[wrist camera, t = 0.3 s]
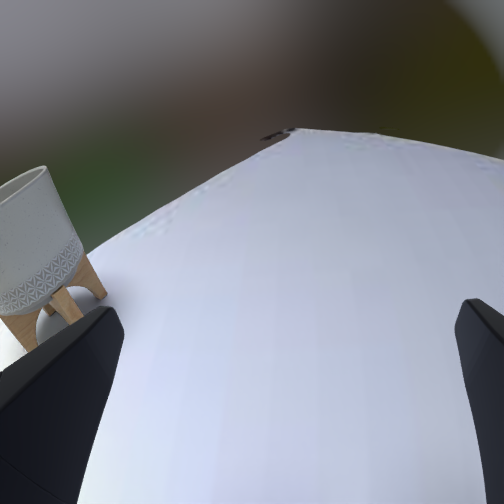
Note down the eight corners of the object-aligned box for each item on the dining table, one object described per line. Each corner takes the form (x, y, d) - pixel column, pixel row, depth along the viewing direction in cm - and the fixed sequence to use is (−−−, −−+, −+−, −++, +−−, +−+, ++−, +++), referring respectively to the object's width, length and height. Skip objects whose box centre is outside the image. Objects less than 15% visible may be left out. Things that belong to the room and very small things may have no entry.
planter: (134, 306, 35) (65, 161, 25) (58, 385, 26) (-50, 242, 16) (81, 281, 41) (25, 169, 31) (19, 340, 33) (-55, 228, 23)
